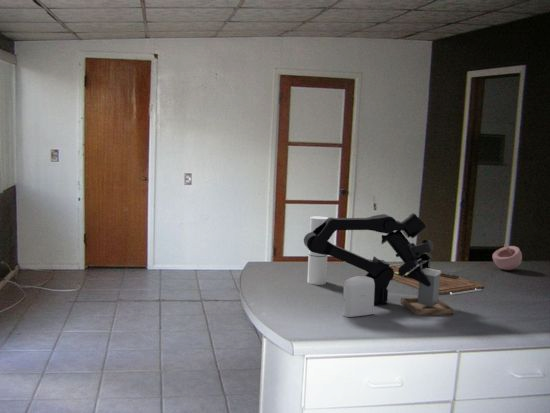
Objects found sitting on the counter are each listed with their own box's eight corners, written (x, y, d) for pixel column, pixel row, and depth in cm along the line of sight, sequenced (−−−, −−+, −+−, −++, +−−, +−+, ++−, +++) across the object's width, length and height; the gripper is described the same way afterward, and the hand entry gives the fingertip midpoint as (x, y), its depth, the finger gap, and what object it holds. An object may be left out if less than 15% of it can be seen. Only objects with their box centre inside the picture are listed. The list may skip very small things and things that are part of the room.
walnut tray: (415, 315, 177) (415, 309, 177) (400, 303, 190) (400, 297, 190) (453, 314, 179) (453, 309, 179) (436, 302, 192) (436, 297, 191)
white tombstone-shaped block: (347, 318, 171) (349, 279, 170) (340, 314, 175) (342, 276, 174) (375, 315, 176) (377, 277, 174) (367, 311, 180) (370, 273, 178)
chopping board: (361, 270, 238) (361, 263, 237) (407, 265, 251) (408, 258, 251) (440, 298, 199) (441, 289, 199) (490, 290, 213) (491, 282, 212)
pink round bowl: (485, 267, 250) (487, 242, 249) (507, 266, 254) (509, 241, 252) (504, 273, 239) (506, 247, 237) (526, 272, 242) (529, 246, 241)
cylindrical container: (326, 280, 216) (329, 216, 213) (325, 285, 209) (329, 219, 206) (307, 279, 217) (310, 215, 214) (306, 284, 210) (309, 218, 207)
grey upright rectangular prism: (432, 306, 180) (434, 273, 179) (417, 303, 183) (419, 270, 182) (438, 303, 184) (440, 270, 183) (423, 299, 187) (425, 267, 186)
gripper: (410, 235, 175) (443, 275, 171) (428, 228, 191) (458, 264, 187) (385, 256, 181) (416, 295, 176) (404, 247, 196) (433, 283, 192)
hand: (432, 284), depth 183 cm, fingers closed on grey upright rectangular prism, 5 cm apart
